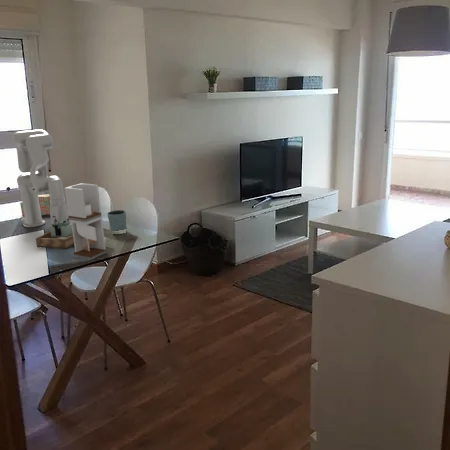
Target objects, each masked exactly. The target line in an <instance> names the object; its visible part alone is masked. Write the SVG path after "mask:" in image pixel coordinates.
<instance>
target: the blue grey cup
mask: <svg viewBox="0 0 450 450" xmlns="http://www.w3.org/2000/svg"><path fill="white" fill-rule="evenodd" d="M126 215H127V212H126V210H124V209H123V210H122V209H119V210H118V209H115V210H111V211H108V212H107V218H108V221H109V227H110V232H111V231H119V230H124V229H128V228H127V227H128V226H127V216H126Z"/></svg>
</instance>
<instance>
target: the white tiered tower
mask: <svg viewBox="0 0 450 450" xmlns="http://www.w3.org/2000/svg"><path fill="white" fill-rule="evenodd" d="M63 190H64V197H65V203H66V207H67V211H68V217H69V221H68V223H71V225H72V232H73V239H74V245H73V246H74V250H75V251H74V252H73V257H75V258H80V259H84V260H89V261H90V260H91V261H92V260H93V259H96V258H97V257H98V258H99V257H100V256H102V255H105V254H107V250H106V242H105V241H106V239H105V233H104V225H103V216H102V210H101V199H100V193H99V185H98V184H92V183H81V182H80V183H78V184H73V185H69V186H67V187H63Z"/></svg>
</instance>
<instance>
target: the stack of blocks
mask: <svg viewBox="0 0 450 450" xmlns="http://www.w3.org/2000/svg"><path fill="white" fill-rule="evenodd" d="M38 198H39V204H40V210H41V216H45V215H50V206H51V203H50V196H49V193H48V194H46V193H45V195H38ZM19 205H20V210H21V216H22V217H25V215H24V209H23V203H22V201H21V202H20V203H19Z"/></svg>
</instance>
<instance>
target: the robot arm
mask: <svg viewBox="0 0 450 450" xmlns="http://www.w3.org/2000/svg"><path fill="white" fill-rule="evenodd" d="M12 142H13V145H14V146H15V149H16V153H17V155H16V156H17V165H18V166H17V167H18V169H19V170H18V171H20V172H21V173H22V174H19V176H17V179H16V183H17V186H18V189H19V191H20V198H21V202H22V203H23V209H24V215H25V216H22V217H21V218H20V222H23V224H22V225H23V227H25V228H35V227H40V226H43V225H45V224H46V221H45V220H44V219H43V217H42V216H43V215H41V210H40V204H39V198H38V195H37V193H36V192H34V191H33V189H35V190H36V191H37V192H48V194H49V196H50V203H51V206H50V214H49V216H50V226H51V225H52V226H53V227H54V229H55V233H56V236H61V228H60V223H69V217H68V210H67V203H66V196H65V189H64V185H63V179H62V178H60V177H59V176H58V175H50V176H49V174H48V164H47V163H49V161H50V157H49V155H48V152H47V151H46V150H51V149H53V147H54V144H55V142H54V139H53V137H52V135H51V134H50V133H48V132H47V131H46V130H45V129H44V130H43V129H32V130H21V131H16V132H14V133H13V134H12ZM56 224H58V226H57V225H56Z"/></svg>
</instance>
